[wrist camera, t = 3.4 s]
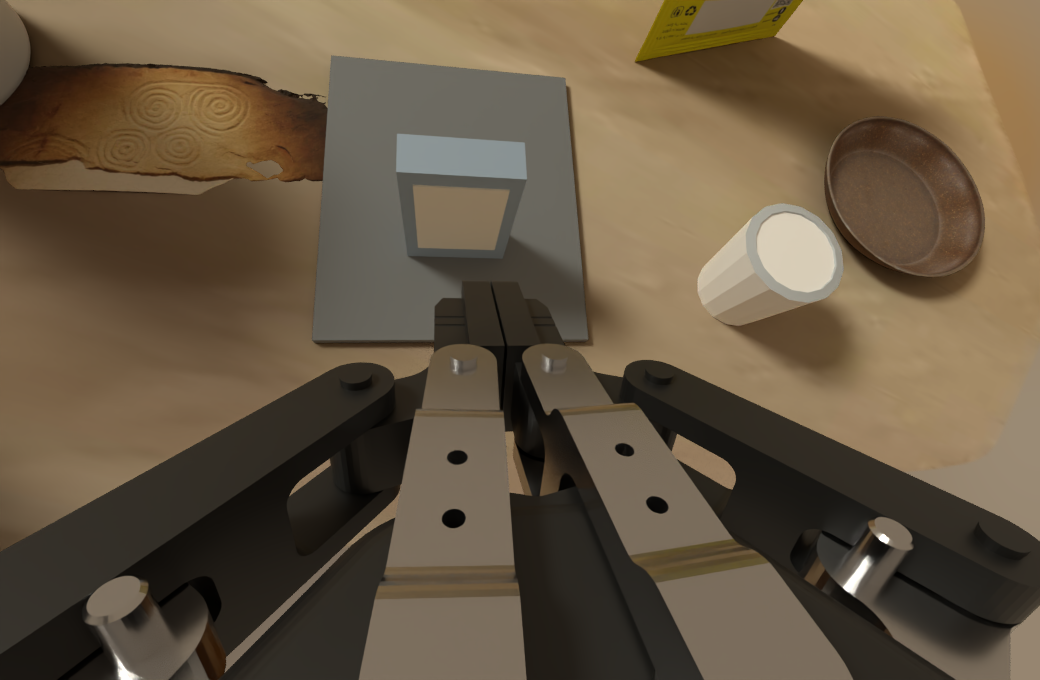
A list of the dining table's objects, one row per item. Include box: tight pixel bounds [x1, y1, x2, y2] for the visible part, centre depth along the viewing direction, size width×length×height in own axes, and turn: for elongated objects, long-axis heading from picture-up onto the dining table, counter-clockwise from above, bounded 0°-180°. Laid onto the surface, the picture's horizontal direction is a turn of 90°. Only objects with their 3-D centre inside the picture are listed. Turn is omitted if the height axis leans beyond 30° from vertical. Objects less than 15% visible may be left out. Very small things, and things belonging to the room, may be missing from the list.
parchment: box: [0, 63, 328, 195], centre depth 32 cm, size 25×10×1 cm, turn 93°
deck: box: [396, 134, 527, 259], centre depth 28 cm, size 6×2×10 cm, turn 93°
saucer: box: [824, 116, 985, 277], centre depth 40 cm, size 15×15×3 cm
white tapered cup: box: [698, 203, 844, 326], centre depth 33 cm, size 7×7×7 cm
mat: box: [312, 56, 588, 343], centre depth 34 cm, size 18×22×1 cm
